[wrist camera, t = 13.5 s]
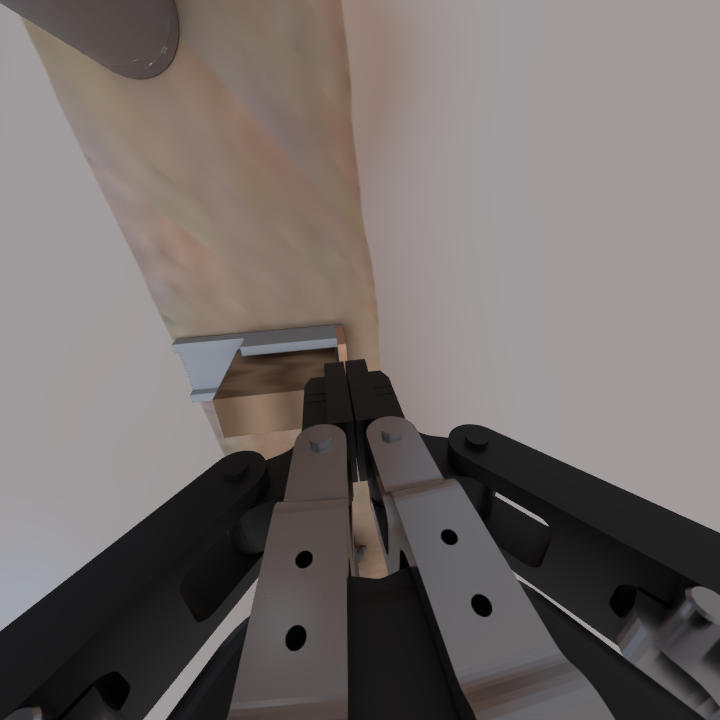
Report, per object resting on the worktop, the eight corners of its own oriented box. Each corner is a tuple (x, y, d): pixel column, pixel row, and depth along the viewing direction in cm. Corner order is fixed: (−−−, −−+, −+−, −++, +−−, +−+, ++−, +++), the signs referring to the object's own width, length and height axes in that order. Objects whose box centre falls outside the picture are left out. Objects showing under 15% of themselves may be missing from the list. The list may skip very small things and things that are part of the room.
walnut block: (245, 380, 45) (224, 437, 35) (237, 349, 43) (212, 399, 32) (336, 371, 46) (342, 423, 36) (333, 340, 44) (339, 386, 34)
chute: (196, 395, 46) (179, 424, 40) (177, 339, 42) (155, 362, 36) (346, 379, 48) (350, 404, 42) (341, 324, 44) (346, 344, 38)
